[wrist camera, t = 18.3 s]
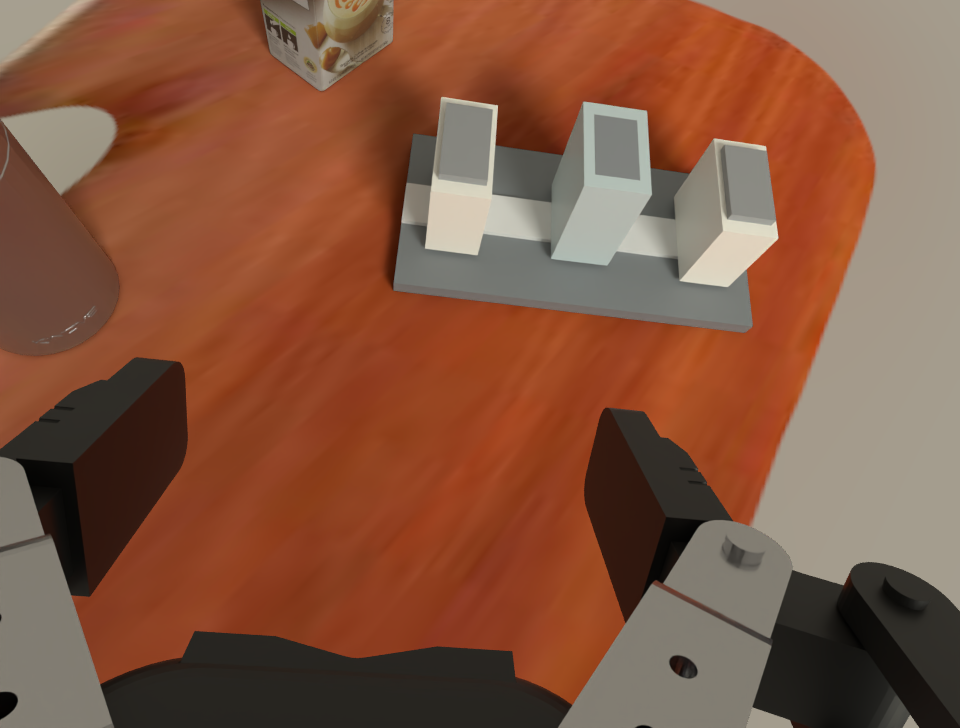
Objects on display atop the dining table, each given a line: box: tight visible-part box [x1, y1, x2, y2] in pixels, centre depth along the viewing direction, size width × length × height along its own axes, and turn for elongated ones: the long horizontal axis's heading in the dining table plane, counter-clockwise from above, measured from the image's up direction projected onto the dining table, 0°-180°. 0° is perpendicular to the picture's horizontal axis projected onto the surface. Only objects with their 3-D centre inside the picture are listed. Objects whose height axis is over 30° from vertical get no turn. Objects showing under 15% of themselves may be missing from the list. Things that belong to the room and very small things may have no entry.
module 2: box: [674, 139, 778, 287], centre depth 48 cm, size 4×8×8 cm, turn 175°
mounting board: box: [394, 134, 753, 333], centre depth 51 cm, size 28×14×2 cm, turn 85°
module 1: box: [425, 97, 498, 255], centre depth 46 cm, size 4×8×8 cm, turn 175°
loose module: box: [551, 102, 652, 266], centre depth 46 cm, size 4×7×9 cm, turn 176°
